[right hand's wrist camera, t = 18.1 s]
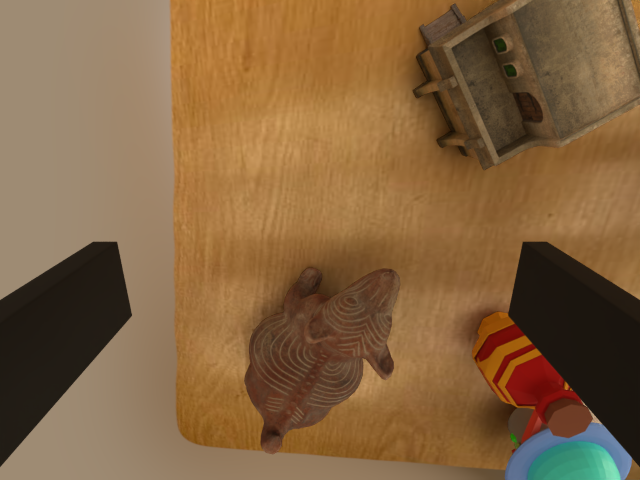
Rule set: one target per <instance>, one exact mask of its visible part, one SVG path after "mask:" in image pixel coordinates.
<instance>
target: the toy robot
mask: <svg viewBox="0 0 640 480" xmlns="http://www.w3.org/2000/svg"><path fill="white" fill-rule="evenodd" d="M508 429H509V432H510V433H511V435H510V438H511V440H512V441H513V442H515V448H516V449H514V450H512V452H513V454H512V456H511V458H510V460H509V462H508V464H507V467H506V472H505V480H625V478H626V477H627V475H628V473H629V471H630V467H631V462H632V457H631V456H630V455H629V454H628V453H627V452H626V451H625V449H624V448H623V447H622V446H621V445H620V444H619V442H618V441H617V440H616V439H615V438H614V437H613V436H612V434H611V433H610V432H609V431H608V430H607V429H606V428H605V426H604V425H602V424H598V423H593V422H591V423H590V424H589V426H588V428H587V429H586V431H585V432H582V433H580V434H578V435H575V436H573V437H570V438H565V437H559V436H553V434H552V433H551V431H550V429H549V427H548V425H546V424H544V423H542V421H541V420H540V418H539V416H538V414H537V412H536V410H535V409H531V408H517V409H516V410H514V411H513V413H512V414H511V416H510V418H509V420H508Z"/></svg>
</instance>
